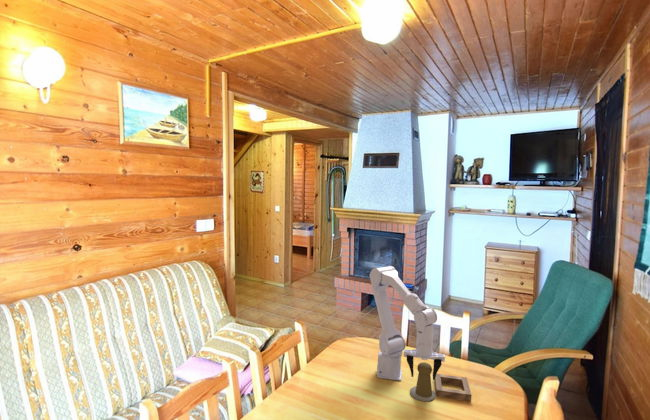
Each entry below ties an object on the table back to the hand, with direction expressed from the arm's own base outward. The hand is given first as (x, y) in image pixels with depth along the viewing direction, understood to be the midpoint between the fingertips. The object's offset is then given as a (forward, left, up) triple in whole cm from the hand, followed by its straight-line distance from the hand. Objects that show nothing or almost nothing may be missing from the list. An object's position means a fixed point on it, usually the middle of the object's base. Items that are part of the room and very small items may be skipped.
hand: (423, 376), depth 134 cm
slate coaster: (0, 0, -7) cm, 7 cm away
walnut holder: (+11, +6, -7) cm, 14 cm away
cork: (+1, 0, -6) cm, 6 cm away
